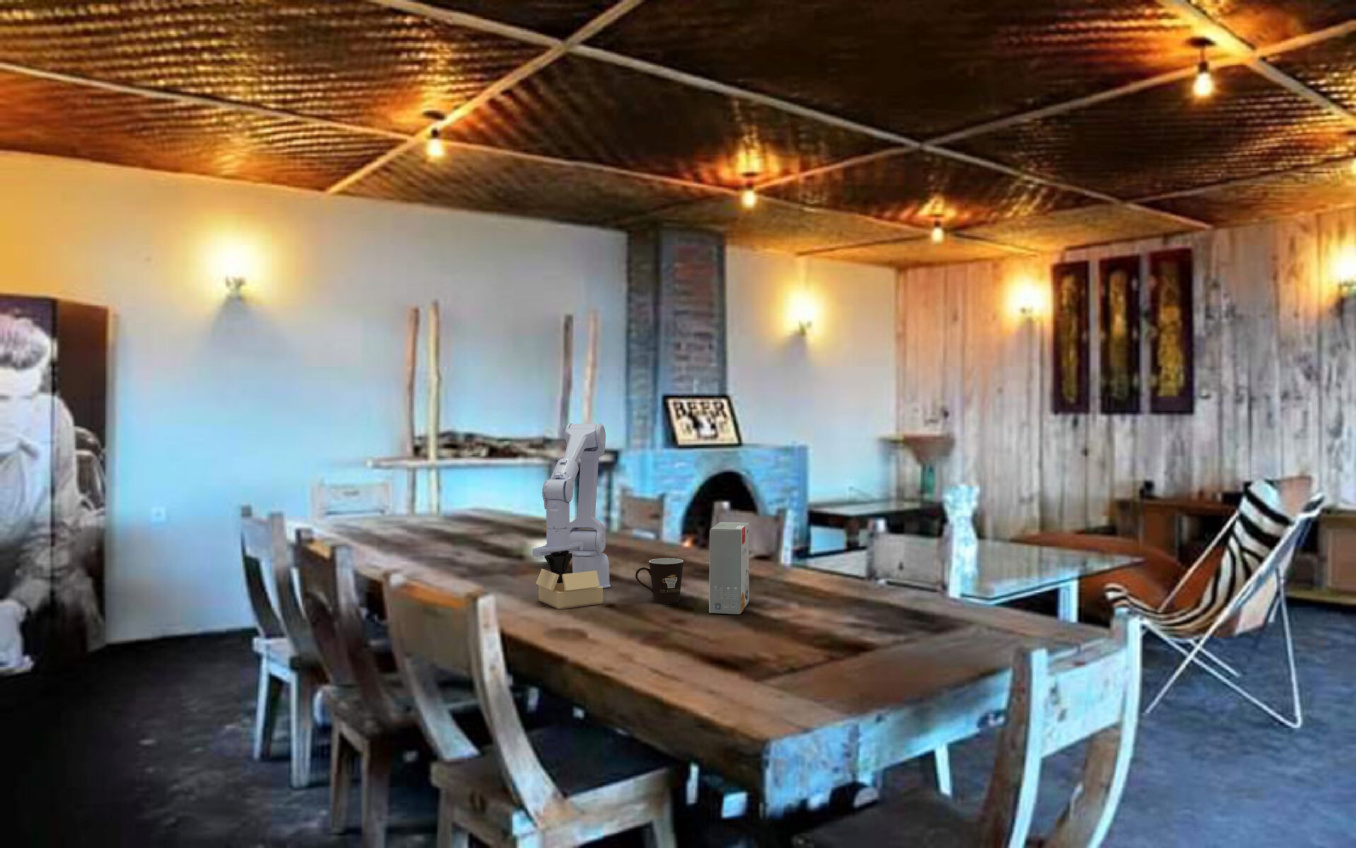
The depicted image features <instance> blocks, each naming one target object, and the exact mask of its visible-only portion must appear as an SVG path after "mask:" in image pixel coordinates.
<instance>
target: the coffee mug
mask: <svg viewBox="0 0 1356 848" xmlns="http://www.w3.org/2000/svg"><path fill="white" fill-rule="evenodd" d="M648 564H649V568H648V567H643V566H642V567H640V568H638V569H637V570H636V571H635V575H634V576H635V579H636V581H637V583H639V584H640V585H641V586H642V587H644V588H645V589H647V590H649V591H651V593H652V597H653V602H654V603H656V604H665V605H667V604H676V603H679V602H680V598H681V597H680V596H681V590H682V588H681V587H682V580H683V579H682V578H683V569H684V560H683V559H681V558H674V557H672V558H671V557H663V558H662V557H661V558H660V557H659V558H654V559H649V561H648ZM641 571H646V572H647V573H648V575H650V580H651V587H649V586H648V585H646V584H645V583H643V582H641V580H640V579H639V577H638V576H639V573H640V572H641Z"/></svg>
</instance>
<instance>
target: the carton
mask: <svg viewBox="0 0 1356 848" xmlns="http://www.w3.org/2000/svg"><path fill="white" fill-rule="evenodd" d="M538 602H540V603H543V604H544V605H547V606H550V607H552V608H554V609H556V610H564V609H565V610H567V609H571V608H572V609H573V608H579V607H588V606H594V605H603V604H604V588H603V587H596V588H588V589H579V590H571V591H565V589H564V584H563V583H556V585H555V587H554V590H553V591H552V590H550V589H547V588H545V587H542V586H540V585H538Z"/></svg>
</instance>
